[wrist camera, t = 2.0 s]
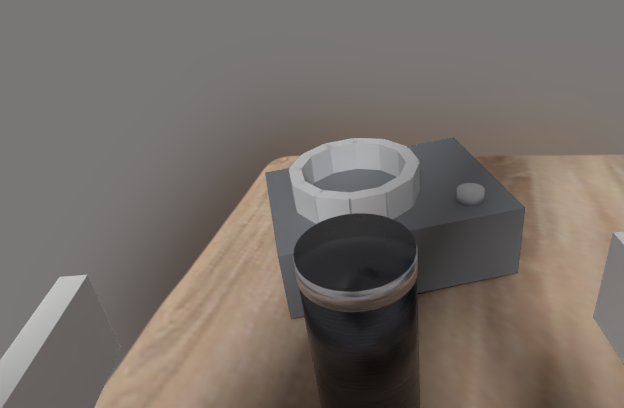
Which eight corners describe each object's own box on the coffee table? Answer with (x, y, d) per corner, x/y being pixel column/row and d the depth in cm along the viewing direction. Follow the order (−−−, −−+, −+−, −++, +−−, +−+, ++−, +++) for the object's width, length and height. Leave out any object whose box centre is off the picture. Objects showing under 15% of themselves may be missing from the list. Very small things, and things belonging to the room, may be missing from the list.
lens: (403, 354, 33) (396, 204, 27) (435, 436, 28) (436, 273, 22) (314, 373, 33) (286, 225, 27) (330, 459, 28) (300, 300, 21)
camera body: (452, 192, 50) (454, 112, 45) (517, 272, 39) (528, 177, 34) (276, 226, 49) (260, 148, 44) (291, 318, 37) (271, 226, 33)
